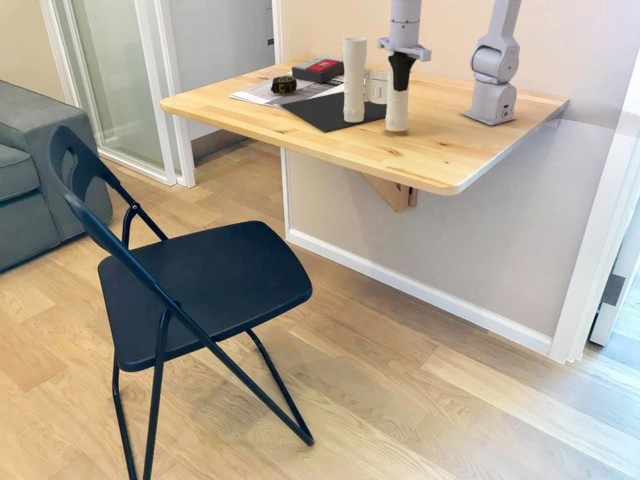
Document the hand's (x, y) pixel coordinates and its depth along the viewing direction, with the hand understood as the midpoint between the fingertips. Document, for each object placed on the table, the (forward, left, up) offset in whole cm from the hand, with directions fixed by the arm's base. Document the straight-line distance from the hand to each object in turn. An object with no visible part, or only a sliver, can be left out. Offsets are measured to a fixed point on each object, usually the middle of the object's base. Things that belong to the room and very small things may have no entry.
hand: (400, 90), depth 109 cm
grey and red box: (+52, -12, -11) cm, 55 cm away
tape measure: (+43, +6, -11) cm, 45 cm away
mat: (+23, 0, -11) cm, 25 cm away
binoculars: (+8, 0, -10) cm, 13 cm away
